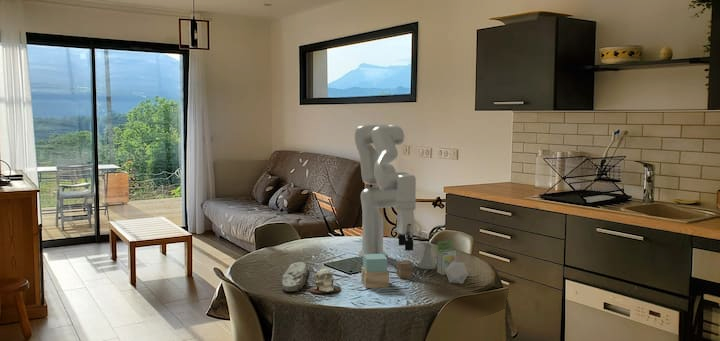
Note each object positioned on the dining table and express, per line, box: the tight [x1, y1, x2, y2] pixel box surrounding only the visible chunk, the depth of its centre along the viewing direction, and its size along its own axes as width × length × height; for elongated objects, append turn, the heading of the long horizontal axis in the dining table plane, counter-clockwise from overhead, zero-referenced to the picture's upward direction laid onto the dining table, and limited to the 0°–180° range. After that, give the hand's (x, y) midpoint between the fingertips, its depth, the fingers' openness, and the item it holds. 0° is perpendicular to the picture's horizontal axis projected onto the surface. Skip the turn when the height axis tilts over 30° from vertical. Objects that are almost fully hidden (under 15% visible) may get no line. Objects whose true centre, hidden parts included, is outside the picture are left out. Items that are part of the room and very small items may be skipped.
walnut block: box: [396, 259, 414, 279], centre depth 237 cm, size 5×5×6 cm
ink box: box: [436, 239, 457, 276], centre depth 241 cm, size 7×4×13 cm, turn 117°
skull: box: [308, 268, 342, 294], centre depth 219 cm, size 12×10×10 cm
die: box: [445, 261, 469, 285], centre depth 230 cm, size 8×9×10 cm
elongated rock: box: [280, 261, 309, 292], centre depth 232 cm, size 35×5×10 cm
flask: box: [418, 243, 437, 270], centre depth 250 cm, size 7×7×10 cm
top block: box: [362, 254, 388, 272], centre depth 226 cm, size 8×8×5 cm
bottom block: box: [360, 265, 390, 289], centre depth 227 cm, size 9×9×6 cm
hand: (405, 247), depth 236 cm, fingers open, 9 cm apart
